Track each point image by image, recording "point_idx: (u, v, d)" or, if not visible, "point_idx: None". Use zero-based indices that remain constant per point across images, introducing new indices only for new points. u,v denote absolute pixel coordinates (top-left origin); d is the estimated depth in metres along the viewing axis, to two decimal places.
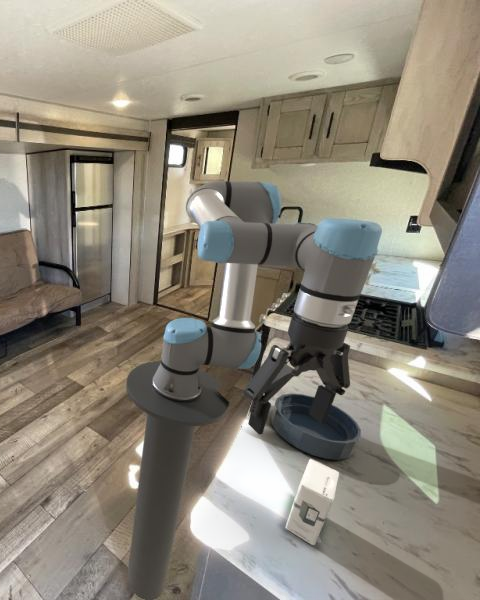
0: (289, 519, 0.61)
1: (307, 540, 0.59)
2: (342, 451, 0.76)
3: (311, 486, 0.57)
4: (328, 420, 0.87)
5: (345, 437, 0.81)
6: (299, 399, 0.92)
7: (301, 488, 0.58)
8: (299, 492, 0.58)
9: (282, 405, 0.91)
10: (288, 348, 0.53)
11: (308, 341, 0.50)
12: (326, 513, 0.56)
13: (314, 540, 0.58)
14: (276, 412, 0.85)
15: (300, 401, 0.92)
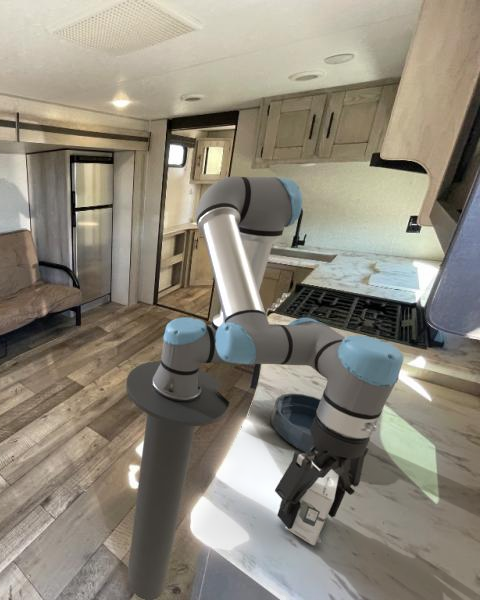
0: None
1: (307, 540, 0.59)
2: None
3: (311, 486, 0.57)
4: None
5: None
6: (299, 399, 0.92)
7: None
8: None
9: (282, 405, 0.91)
10: (311, 452, 0.56)
11: (331, 449, 0.53)
12: (326, 513, 0.56)
13: (314, 540, 0.58)
14: (276, 412, 0.85)
15: (300, 401, 0.92)
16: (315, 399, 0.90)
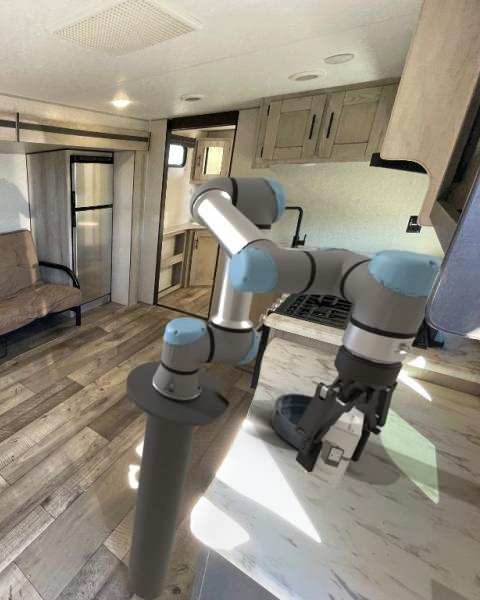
0: None
1: (329, 484, 0.54)
2: None
3: (335, 423, 0.52)
4: None
5: None
6: (299, 399, 0.92)
7: None
8: None
9: (282, 405, 0.91)
10: (335, 384, 0.51)
11: (359, 377, 0.48)
12: (352, 451, 0.51)
13: (337, 483, 0.54)
14: (276, 412, 0.85)
15: (300, 401, 0.92)
16: None
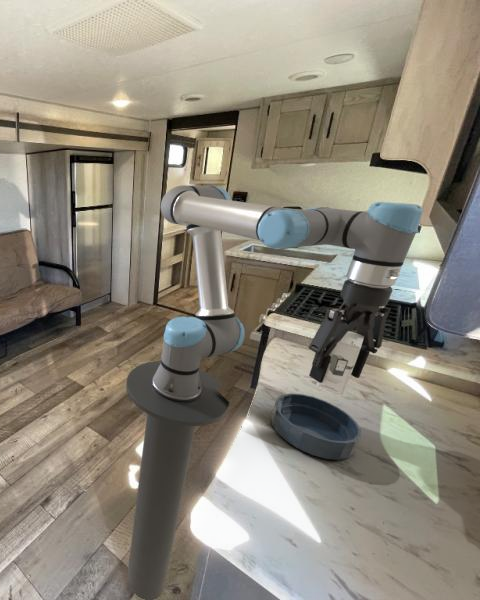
0: None
1: (336, 391, 0.69)
2: (342, 451, 0.76)
3: (340, 340, 0.67)
4: (328, 420, 0.87)
5: (345, 437, 0.81)
6: (299, 399, 0.92)
7: None
8: None
9: (282, 405, 0.91)
10: (341, 308, 0.66)
11: (359, 300, 0.63)
12: (354, 360, 0.66)
13: (342, 389, 0.69)
14: (276, 412, 0.85)
15: (300, 401, 0.92)
16: (315, 399, 0.90)
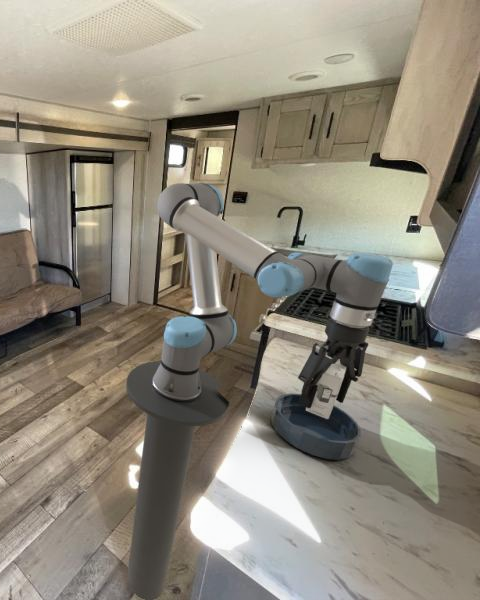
0: None
1: (323, 415, 0.78)
2: (342, 451, 0.76)
3: (326, 372, 0.76)
4: (328, 420, 0.87)
5: (345, 437, 0.81)
6: (299, 399, 0.92)
7: None
8: None
9: (282, 405, 0.91)
10: (325, 344, 0.75)
11: (341, 338, 0.72)
12: (337, 390, 0.75)
13: (328, 414, 0.77)
14: (276, 412, 0.85)
15: None
16: None
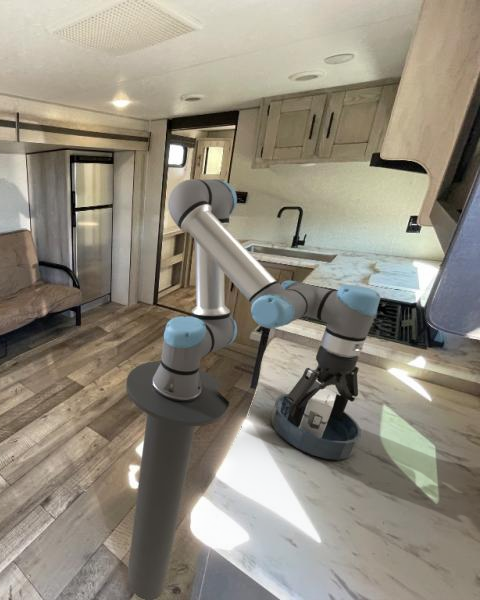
0: (300, 427, 0.83)
1: None
2: (342, 451, 0.76)
3: (316, 399, 0.79)
4: (328, 420, 0.87)
5: (345, 437, 0.81)
6: None
7: (309, 401, 0.79)
8: (307, 404, 0.80)
9: (282, 405, 0.91)
10: (317, 370, 0.77)
11: (331, 366, 0.75)
12: (327, 417, 0.78)
13: None
14: (276, 412, 0.85)
15: None
16: None
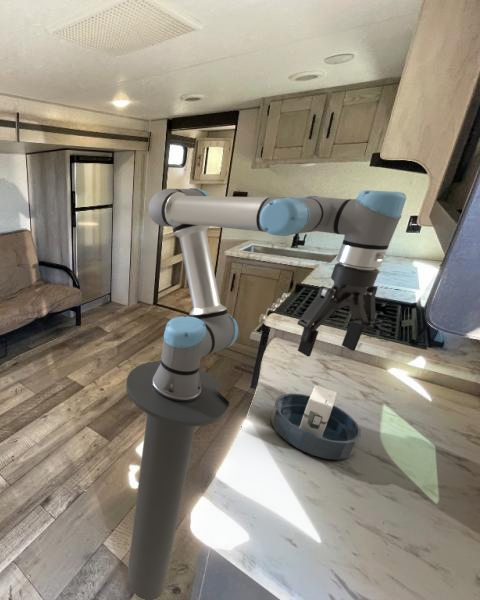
0: (300, 427, 0.83)
1: None
2: (342, 451, 0.76)
3: (316, 399, 0.79)
4: (328, 420, 0.87)
5: (345, 437, 0.81)
6: (299, 399, 0.92)
7: (309, 401, 0.79)
8: (307, 404, 0.80)
9: (282, 405, 0.91)
10: (333, 288, 0.71)
11: (349, 281, 0.68)
12: (327, 417, 0.78)
13: None
14: (276, 412, 0.85)
15: (300, 401, 0.92)
16: None
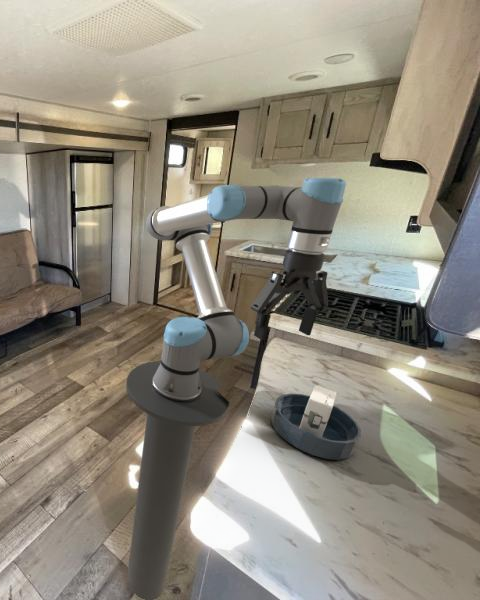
0: (300, 427, 0.83)
1: None
2: (342, 451, 0.76)
3: (316, 399, 0.79)
4: (328, 420, 0.87)
5: (345, 437, 0.81)
6: (299, 399, 0.92)
7: (309, 401, 0.79)
8: (307, 404, 0.80)
9: (282, 405, 0.91)
10: (283, 273, 0.73)
11: (296, 266, 0.71)
12: (327, 417, 0.78)
13: None
14: (276, 412, 0.85)
15: (300, 401, 0.92)
16: None
